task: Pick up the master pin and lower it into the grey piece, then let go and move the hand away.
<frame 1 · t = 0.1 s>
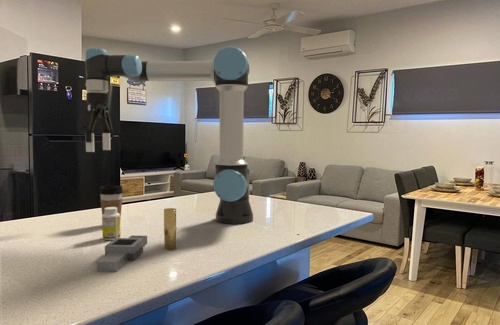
hand: (98, 151, 141), 28 cm above the kitchen island, fingers open, 13 cm apart
master pin: (170, 248, 116), on the kitchen island
supplement bottle: (111, 239, 126), on the kitchen island
grey piece: (124, 255, 109), on the kitchen island
coffee cup: (111, 225, 143), on the kitchen island
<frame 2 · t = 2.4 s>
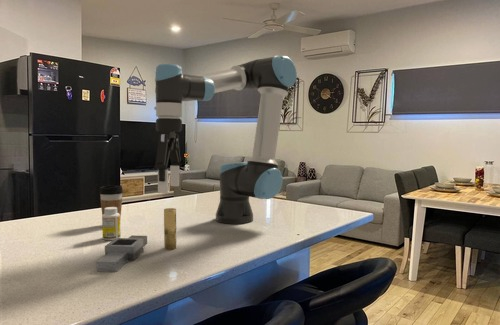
hand: (169, 189, 114), 18 cm above the kitchen island, fingers open, 13 cm apart
nothing on the kitchen island moved.
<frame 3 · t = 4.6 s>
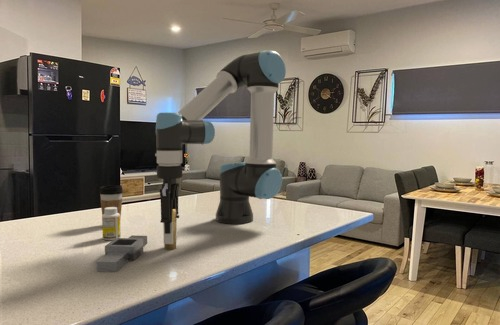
hand: (170, 241, 116), 2 cm above the kitchen island, fingers closed on master pin, 3 cm apart
master pin: (170, 248, 116), on the kitchen island, touching gripper
everything else where it was.
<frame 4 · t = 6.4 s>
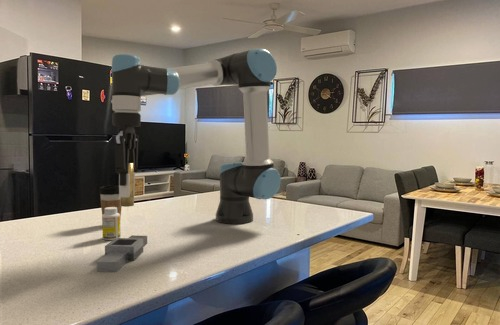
hand: (127, 195, 108), 17 cm above the kitchen island, fingers closed on master pin, 3 cm apart
master pin: (127, 205, 108), point 14 cm above the kitchen island, touching gripper
everything else where it was.
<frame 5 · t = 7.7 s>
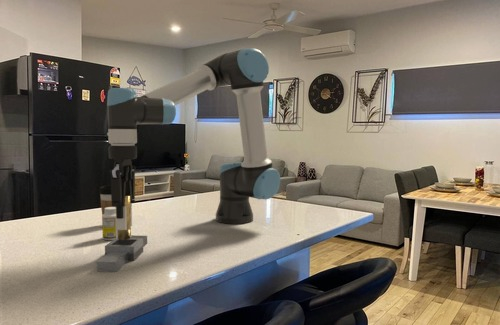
hand: (124, 227, 108), 8 cm above the kitchen island, fingers closed on master pin, 4 cm apart
master pin: (124, 237, 108), point 5 cm above the kitchen island, touching gripper
everything else where it was.
when the fingers open (5 cm above the kitchen island, at t = 8.5 s): master pin drops 2 cm, resting in grey piece.
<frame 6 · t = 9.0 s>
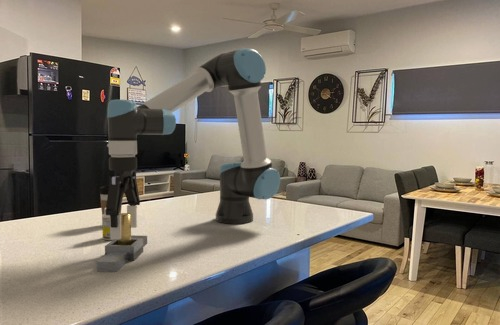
hand: (124, 232, 108), 7 cm above the kitchen island, fingers open, 11 cm apart
master pin: (124, 255, 109), resting in grey piece
everything else where it was.
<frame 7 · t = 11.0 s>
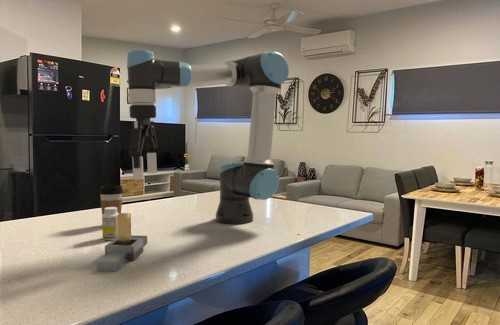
hand: (145, 176, 114), 22 cm above the kitchen island, fingers open, 13 cm apart
nothing on the kitchen island moved.
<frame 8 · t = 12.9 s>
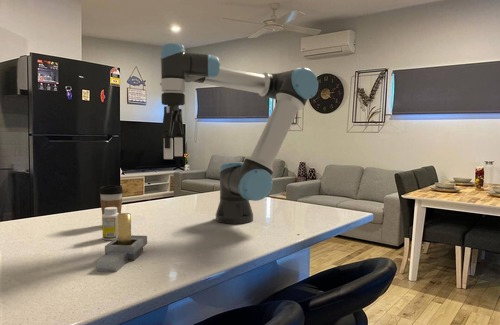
hand: (173, 157, 127), 27 cm above the kitchen island, fingers open, 13 cm apart
nothing on the kitchen island moved.
at the end: master pin 0.0 cm off-centre on the grey piece, point 0.0 cm above the grey piece's base; master pin tilted 0°; the gripper is holding nothing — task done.
